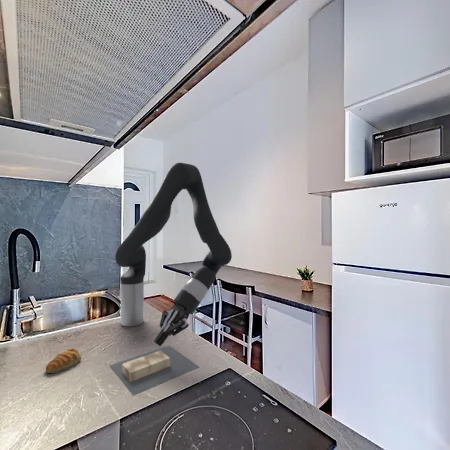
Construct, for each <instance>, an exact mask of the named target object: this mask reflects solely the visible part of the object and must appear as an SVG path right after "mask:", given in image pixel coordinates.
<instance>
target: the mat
mask: <svg viewBox="0 0 450 450" xmlns="http://www.w3.org/2000/svg"><path fill="white" fill-rule="evenodd" d="M158 351H162V352H163V353H164V354H166V355H167V356H168V357H169V358H170V367H167V368H164V369H162V370H159V371H157V372H154V373H152V374H149V375H147V376H144V377H142V378H139V379H137V380H134V381H132V382H130V381H129V380H128V379H127V378H126V377H125V375H124V374H123V373H122V364H123V363H126V362H128V361H131V360H134V359H137V358H140V357H143V356H146V355H149V354H152V353H155V352H158ZM109 367H110V369H111V370H112V371H113V373H114V374H115V375H116V376H117V377H118V378H119V380H120V381H121V382H122V384H123V385H124V386H125V388H127V390H128V391H129V392H130V393H131V395H132V396H136V395H138V394H141V393H143V392H145V391H147V390H150V389H153V388H155V387H157V386H159V385H162V384H163V383H167V382H169V381H171V380H173V379H176V378H178V377H180V376H182V375H185V374H187V373H189V372H192V371H195V370H197V369H199V368H200V366H199V365H197V364H196V363H195V362H193V360H191V359H189V358H188V357H186V356H185V355H184V354H182V353H181V352H179V351H178V350H176V349H175V348H174V347H172V346H171V345H166V346H163V347H161V348H160V347H159V348H158V349H154V350H152V351H149V352H146V353H142V354H140V355H139V354H138V355H137V356H134V357H131V358H128V359H125V360H122V361H120V362H119V361H118V362H117V363H114V364H110V365H109Z"/></svg>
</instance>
